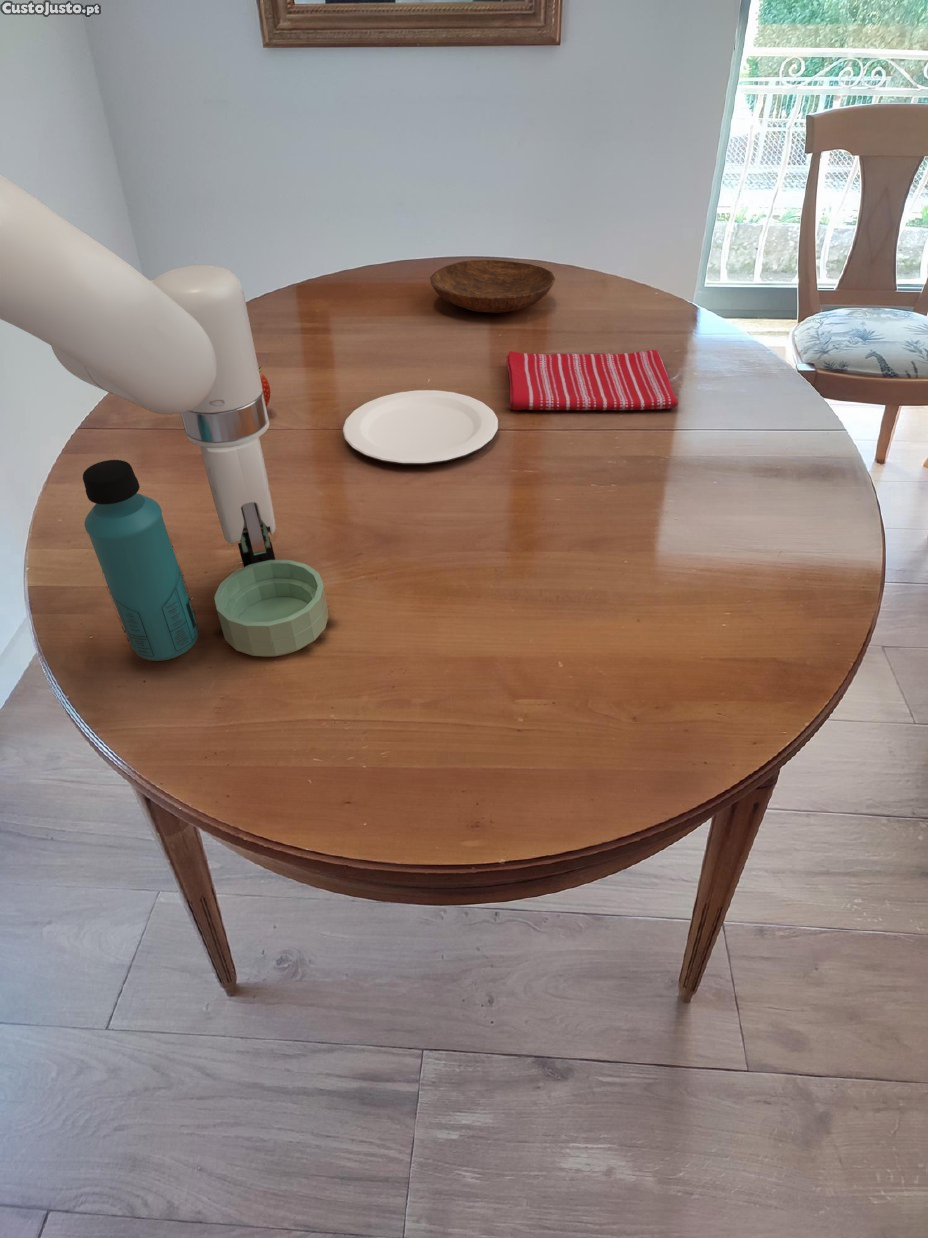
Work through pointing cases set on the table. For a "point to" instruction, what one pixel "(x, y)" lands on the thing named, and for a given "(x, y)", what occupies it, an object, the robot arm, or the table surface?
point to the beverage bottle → (138, 563)
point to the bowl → (492, 285)
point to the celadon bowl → (272, 607)
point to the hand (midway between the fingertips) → (261, 574)
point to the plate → (420, 427)
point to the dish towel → (589, 381)
